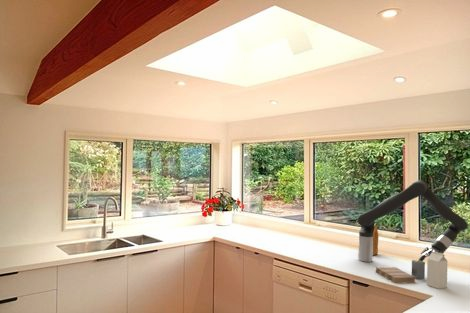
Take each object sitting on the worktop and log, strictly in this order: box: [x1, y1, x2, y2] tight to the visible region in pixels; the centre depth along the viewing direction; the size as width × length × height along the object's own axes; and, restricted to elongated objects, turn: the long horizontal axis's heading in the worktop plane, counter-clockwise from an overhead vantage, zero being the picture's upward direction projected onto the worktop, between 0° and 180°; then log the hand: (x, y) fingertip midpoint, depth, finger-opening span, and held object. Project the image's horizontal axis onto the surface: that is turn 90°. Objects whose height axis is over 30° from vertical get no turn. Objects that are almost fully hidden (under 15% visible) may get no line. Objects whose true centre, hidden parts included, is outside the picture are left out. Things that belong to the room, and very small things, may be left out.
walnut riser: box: [375, 266, 416, 284], centre depth 214 cm, size 20×13×3 cm, turn 8°
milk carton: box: [426, 251, 448, 290], centre depth 200 cm, size 7×7×19 cm
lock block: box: [411, 259, 426, 280], centre depth 214 cm, size 5×5×11 cm
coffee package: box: [373, 225, 379, 256], centre depth 272 cm, size 10×12×22 cm
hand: (424, 263), depth 215 cm, fingers open, 8 cm apart
